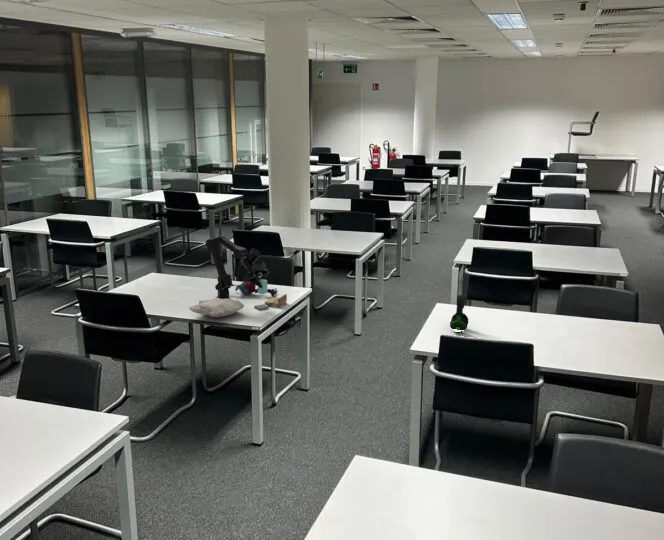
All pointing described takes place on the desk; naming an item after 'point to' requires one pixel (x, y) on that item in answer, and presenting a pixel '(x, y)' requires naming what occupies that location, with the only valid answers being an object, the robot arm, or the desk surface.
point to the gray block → (261, 307)
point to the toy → (251, 288)
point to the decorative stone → (217, 307)
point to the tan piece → (277, 301)
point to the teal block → (263, 287)
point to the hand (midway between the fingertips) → (264, 286)
